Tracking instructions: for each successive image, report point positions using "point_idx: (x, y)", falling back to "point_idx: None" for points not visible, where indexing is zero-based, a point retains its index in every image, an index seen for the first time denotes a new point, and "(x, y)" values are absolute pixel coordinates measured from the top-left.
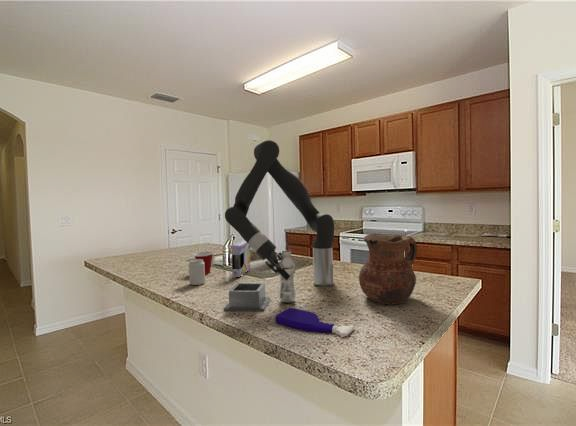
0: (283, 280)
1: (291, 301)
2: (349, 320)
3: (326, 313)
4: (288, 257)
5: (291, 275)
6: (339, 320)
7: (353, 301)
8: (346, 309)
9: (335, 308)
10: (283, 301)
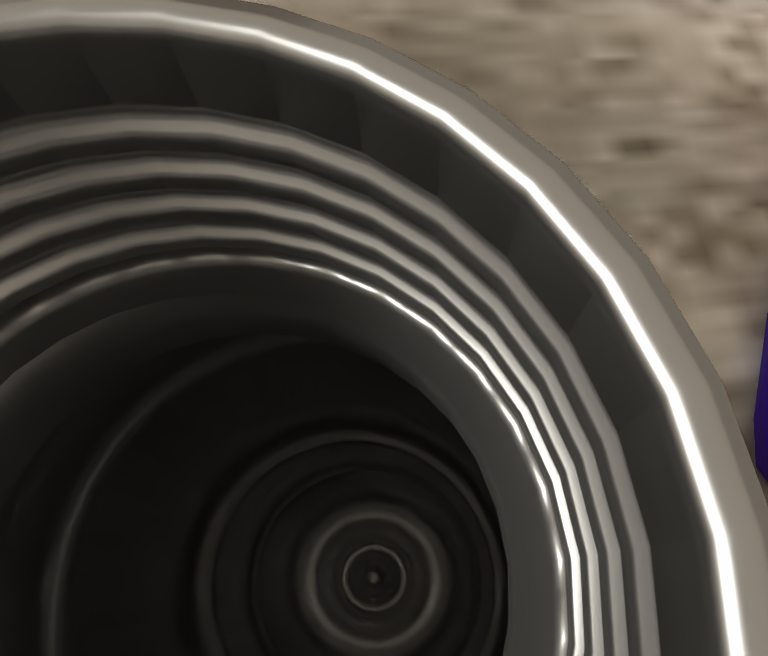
0: (488, 635)
1: (438, 514)
2: (731, 26)
3: (637, 169)
4: (451, 382)
5: (447, 443)
6: (755, 80)
7: (322, 5)
8: (513, 44)
9: (505, 113)
10: (462, 619)
